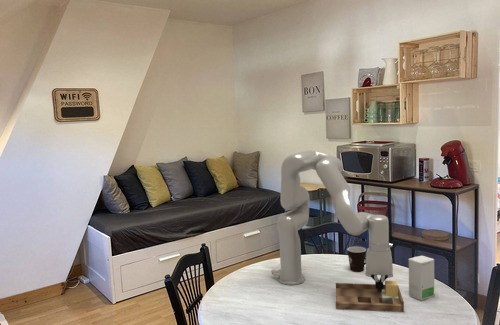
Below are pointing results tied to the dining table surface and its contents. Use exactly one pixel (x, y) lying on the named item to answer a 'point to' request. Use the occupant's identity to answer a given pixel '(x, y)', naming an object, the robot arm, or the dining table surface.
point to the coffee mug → (357, 258)
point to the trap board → (366, 298)
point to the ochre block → (391, 288)
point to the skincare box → (421, 277)
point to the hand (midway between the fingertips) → (379, 290)
